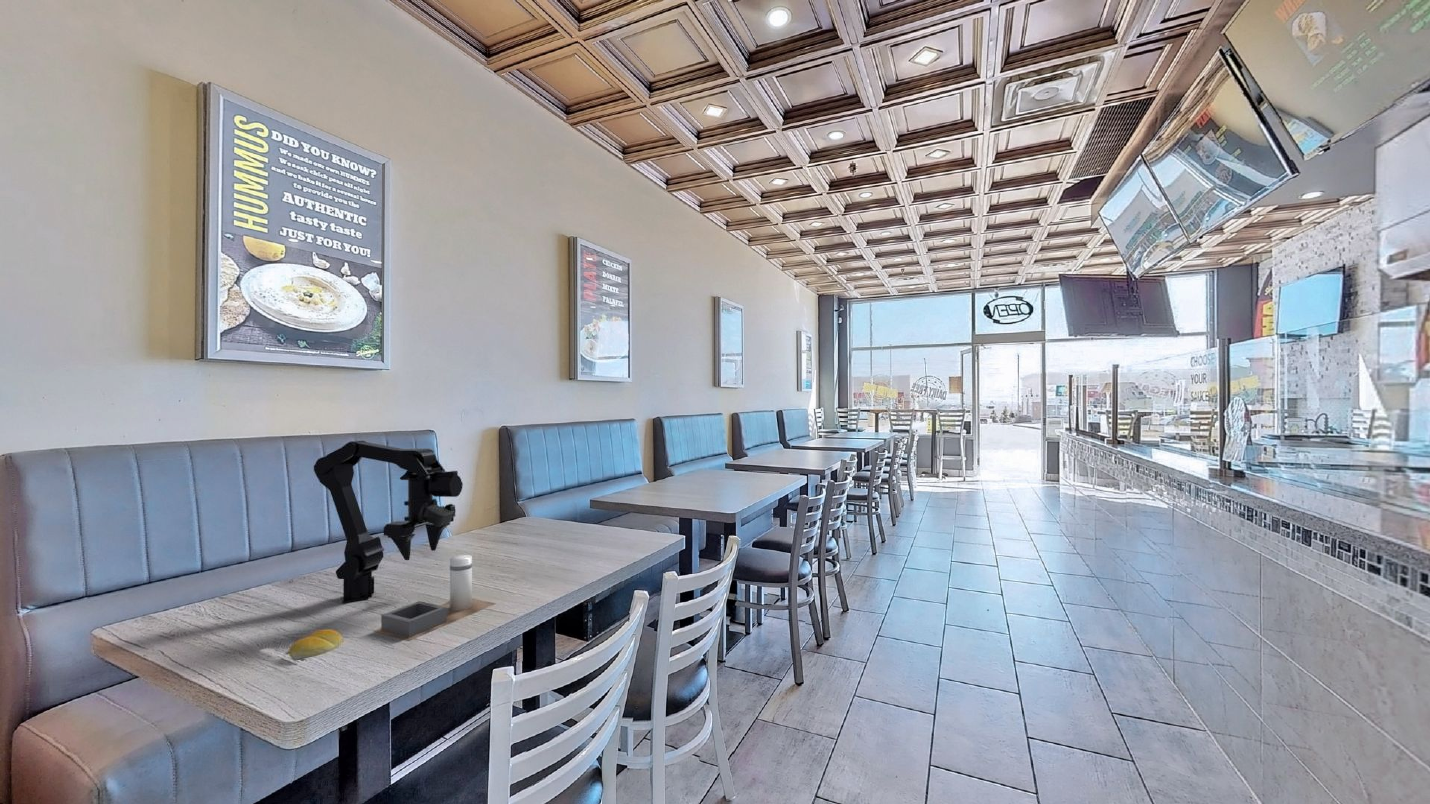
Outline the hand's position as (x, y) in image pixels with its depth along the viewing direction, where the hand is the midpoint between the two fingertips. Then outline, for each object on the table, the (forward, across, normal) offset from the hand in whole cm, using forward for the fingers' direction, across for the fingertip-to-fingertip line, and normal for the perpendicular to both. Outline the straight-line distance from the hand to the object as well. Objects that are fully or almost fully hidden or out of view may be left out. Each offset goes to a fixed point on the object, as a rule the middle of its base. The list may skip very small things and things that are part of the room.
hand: (420, 555), depth 142 cm
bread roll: (+12, -30, -1) cm, 32 cm away
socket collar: (+11, -16, -13) cm, 23 cm away
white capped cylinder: (+11, -4, -15) cm, 19 cm away
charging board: (+12, -10, -14) cm, 21 cm away
